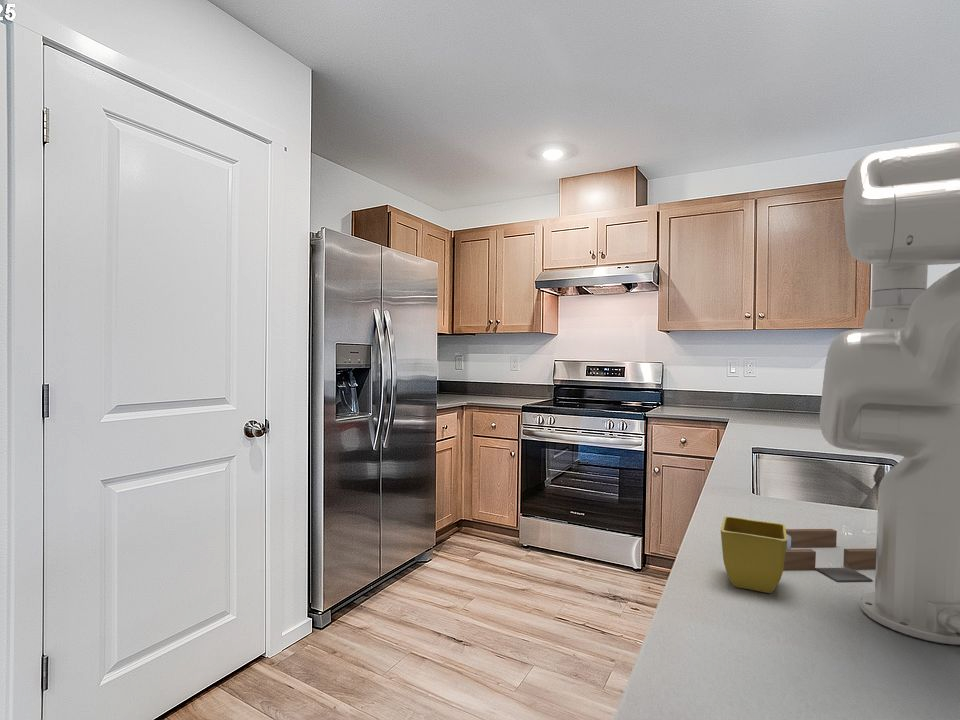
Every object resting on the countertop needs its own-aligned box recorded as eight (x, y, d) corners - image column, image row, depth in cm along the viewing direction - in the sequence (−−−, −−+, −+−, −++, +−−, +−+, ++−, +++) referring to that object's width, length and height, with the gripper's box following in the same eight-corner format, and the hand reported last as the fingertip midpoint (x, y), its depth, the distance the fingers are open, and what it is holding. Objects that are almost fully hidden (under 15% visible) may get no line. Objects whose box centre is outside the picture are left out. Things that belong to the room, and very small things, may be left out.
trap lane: (907, 580, 86) (908, 555, 86) (782, 582, 84) (782, 557, 84) (813, 536, 107) (814, 515, 107) (711, 536, 105) (711, 516, 104)
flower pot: (718, 589, 81) (720, 529, 81) (722, 569, 89) (723, 514, 88) (785, 603, 77) (787, 540, 77) (783, 581, 84) (785, 524, 84)
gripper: (917, 305, 98) (913, 406, 98) (841, 302, 96) (838, 405, 96) (958, 301, 90) (954, 410, 91) (877, 298, 89) (873, 409, 89)
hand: (894, 407), depth 93 cm, fingers closed
